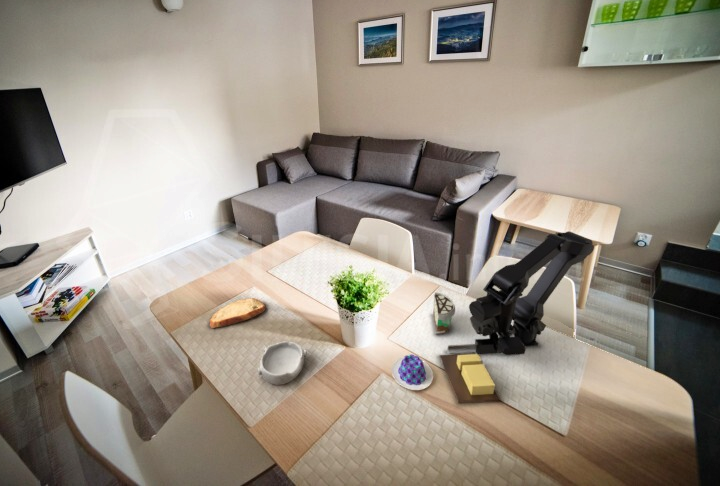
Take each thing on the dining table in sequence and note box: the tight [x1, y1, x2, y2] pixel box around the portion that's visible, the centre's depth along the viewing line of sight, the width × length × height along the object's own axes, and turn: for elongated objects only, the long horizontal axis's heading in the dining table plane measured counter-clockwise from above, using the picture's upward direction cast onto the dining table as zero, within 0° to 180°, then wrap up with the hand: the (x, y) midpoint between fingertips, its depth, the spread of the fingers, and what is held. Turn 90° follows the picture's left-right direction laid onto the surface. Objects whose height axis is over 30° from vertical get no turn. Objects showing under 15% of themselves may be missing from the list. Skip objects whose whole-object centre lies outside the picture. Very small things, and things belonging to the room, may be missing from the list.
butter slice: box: [457, 353, 482, 370], centre depth 97 cm, size 6×2×4 cm, turn 90°
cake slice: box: [432, 292, 456, 336], centre depth 113 cm, size 12×6×10 cm, turn 168°
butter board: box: [439, 352, 500, 404], centre depth 96 cm, size 11×16×1 cm
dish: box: [257, 340, 308, 385], centre depth 103 cm, size 14×14×5 cm
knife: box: [446, 338, 503, 355], centre depth 103 cm, size 21×2×4 cm, turn 90°
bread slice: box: [209, 297, 267, 329], centre depth 128 cm, size 18×18×4 cm
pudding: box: [391, 354, 434, 391], centre depth 97 cm, size 12×12×5 cm
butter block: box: [461, 363, 496, 395], centre depth 92 cm, size 6×7×4 cm
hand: (495, 348), depth 103 cm, fingers open, 3 cm apart
